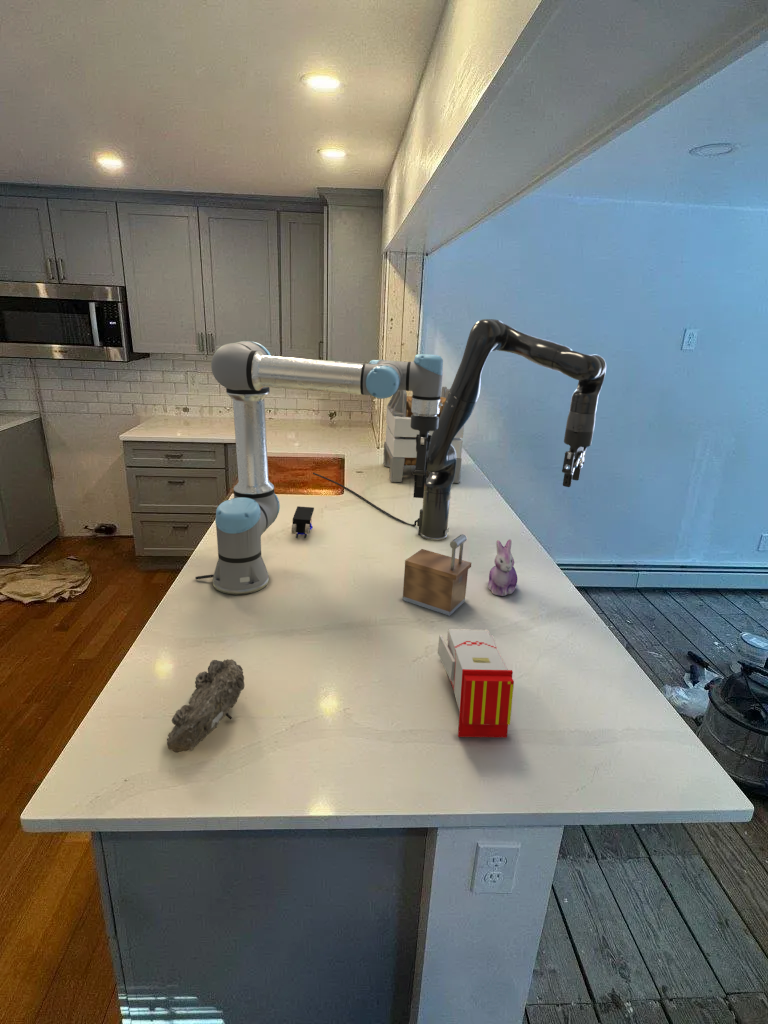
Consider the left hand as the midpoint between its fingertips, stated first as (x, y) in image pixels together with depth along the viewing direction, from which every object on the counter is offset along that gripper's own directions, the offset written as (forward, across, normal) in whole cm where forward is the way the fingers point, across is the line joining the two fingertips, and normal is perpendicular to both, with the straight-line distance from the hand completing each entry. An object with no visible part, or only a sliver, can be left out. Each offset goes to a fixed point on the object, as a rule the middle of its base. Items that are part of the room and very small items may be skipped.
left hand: (419, 490), depth 159 cm
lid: (+17, -13, -7) cm, 22 cm away
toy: (+27, -51, -15) cm, 60 cm away
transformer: (+27, +114, +5) cm, 117 cm away
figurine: (+27, -3, -26) cm, 37 cm away
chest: (+27, -13, -6) cm, 31 cm away
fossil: (+27, -68, +34) cm, 80 cm away
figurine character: (+27, +26, +40) cm, 55 cm away
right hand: (-2, +12, -43) cm, 45 cm away
